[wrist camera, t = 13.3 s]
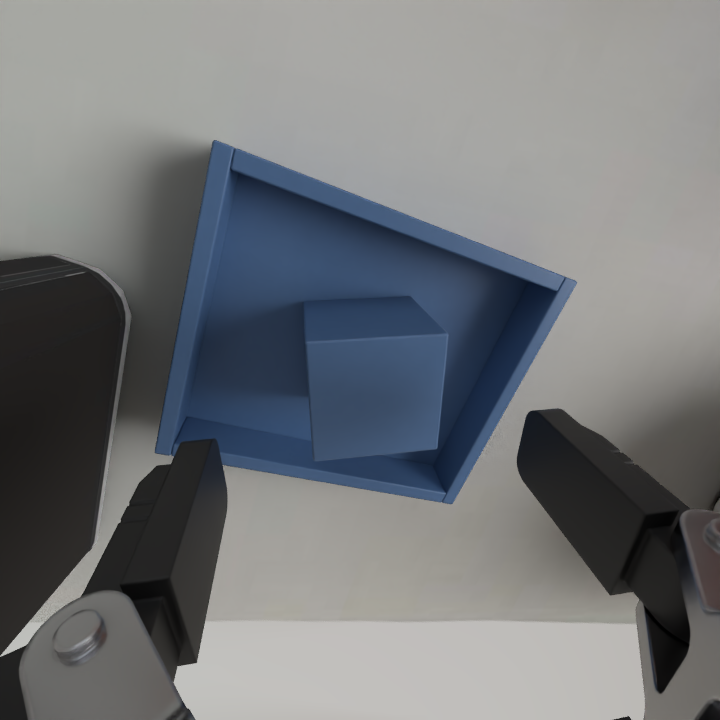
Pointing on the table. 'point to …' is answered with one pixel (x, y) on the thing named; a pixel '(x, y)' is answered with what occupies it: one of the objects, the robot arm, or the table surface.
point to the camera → (54, 422)
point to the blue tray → (334, 282)
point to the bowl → (717, 506)
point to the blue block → (373, 376)
